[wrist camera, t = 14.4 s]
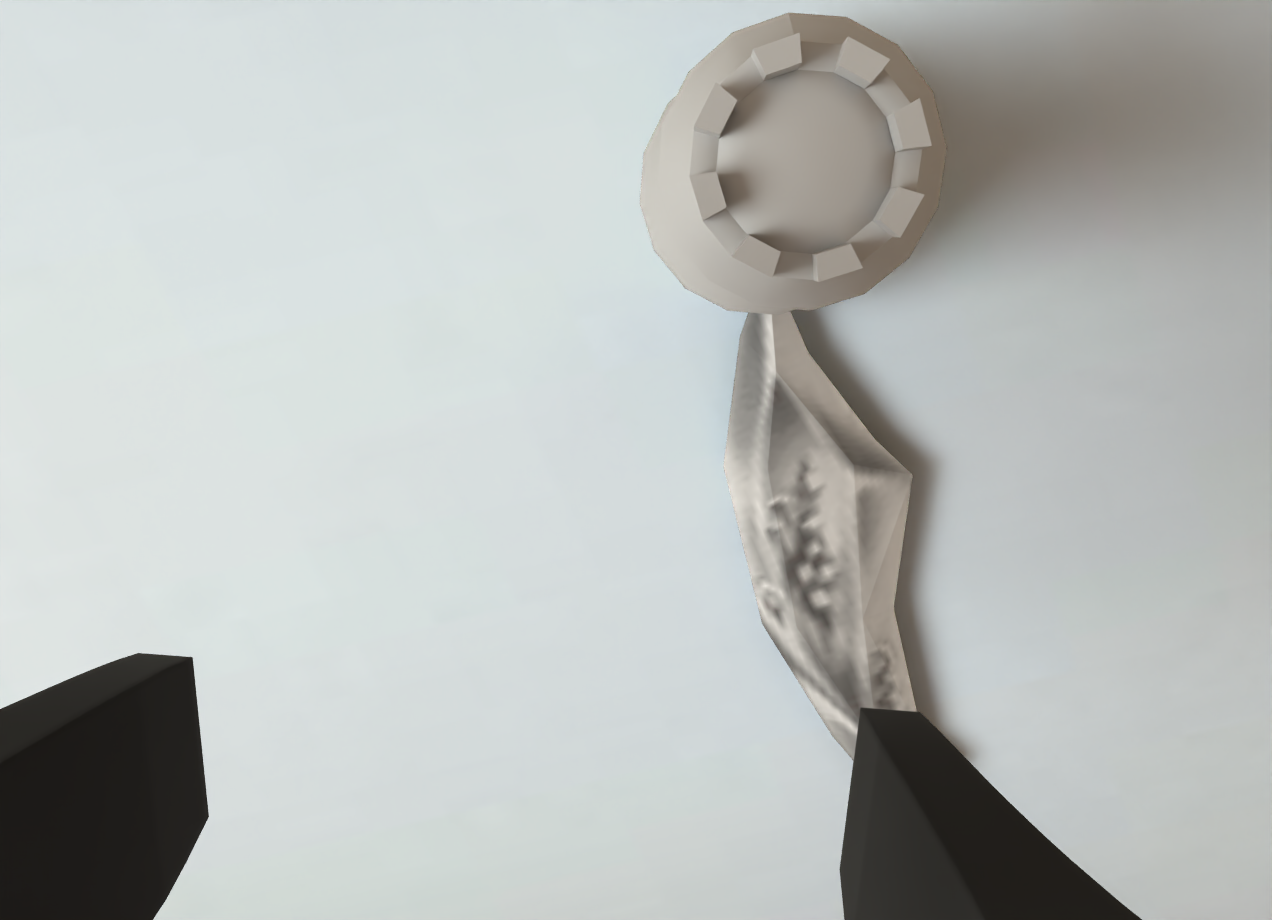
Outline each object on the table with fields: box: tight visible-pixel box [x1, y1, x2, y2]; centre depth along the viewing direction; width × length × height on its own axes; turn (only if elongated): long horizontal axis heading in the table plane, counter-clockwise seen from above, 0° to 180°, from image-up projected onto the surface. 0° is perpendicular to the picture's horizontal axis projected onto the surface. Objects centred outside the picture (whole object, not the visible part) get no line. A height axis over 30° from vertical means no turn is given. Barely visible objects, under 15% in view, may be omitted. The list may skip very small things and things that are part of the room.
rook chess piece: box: [640, 13, 947, 315], centre depth 14 cm, size 4×4×8 cm
